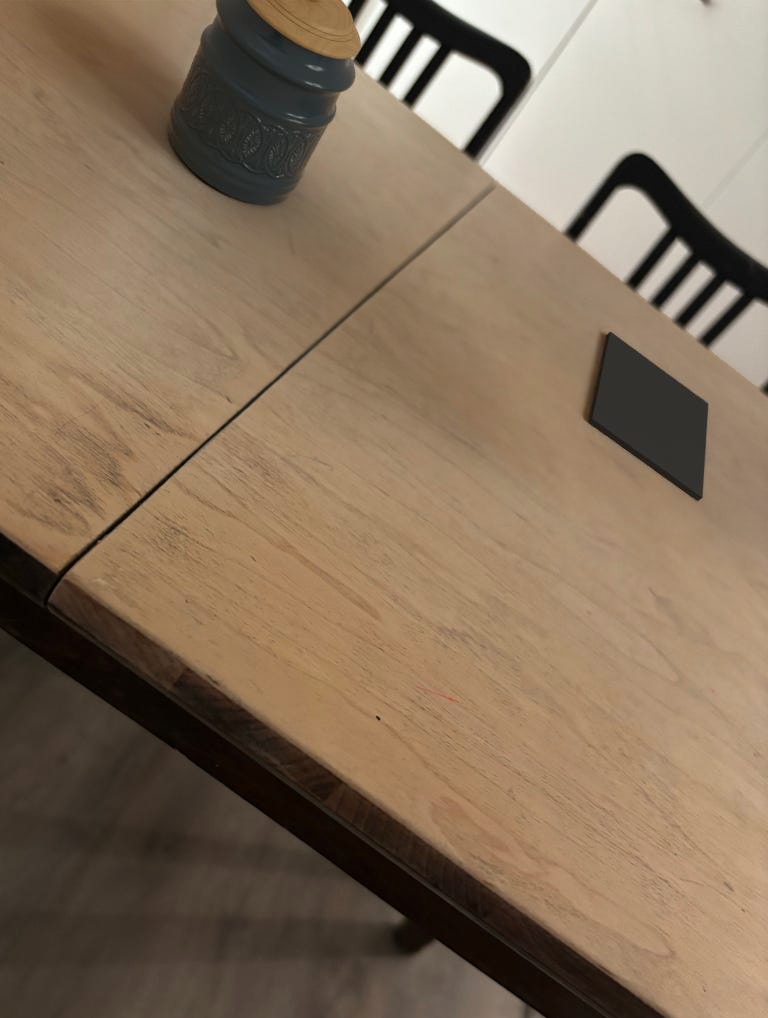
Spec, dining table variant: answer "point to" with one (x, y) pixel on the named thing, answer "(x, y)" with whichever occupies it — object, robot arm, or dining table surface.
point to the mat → (651, 415)
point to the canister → (263, 93)
